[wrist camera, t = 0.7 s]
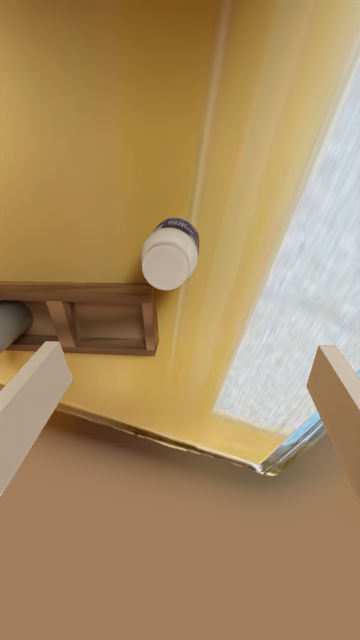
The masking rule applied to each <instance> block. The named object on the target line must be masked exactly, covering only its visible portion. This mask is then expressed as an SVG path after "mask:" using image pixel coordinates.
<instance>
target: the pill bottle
mask: <svg viewBox="0 0 360 640" xmlns="http://www.w3.org/2000/svg"><path fill="white" fill-rule="evenodd" d="M198 253H199V235H198V232H197V230H196V228H195V227H194V225H193V224H192V223H190V222H189V221H188V220H186V219H183V218H180V217H171V218H168V219H166V220H164V221H162V222H161V223H160V224H159V225H158V226H157V227H156V228H155V230H154V231H153V232H152V233H151V234H150V235H149V236H148V237H147V239H146V240H145V242H144V244H143V247H142V250H141V262H142V271H143V275H144V277H145V279H146V280H147V281H148V283H149V284H151V285H152V286H153V287H155V288H157V289H160V290H173V289H176V288H178V287H179V286H181V285H182V284H183V283H184V282H185V281H186V280H188V279H189V278H190V277H191V276H192V274H193V273H194V271H195V269H196V267H197V263H198Z"/></svg>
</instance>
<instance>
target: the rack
mask: <svg viewBox="0 0 360 640" xmlns="http://www.w3.org/2000/svg"><path fill="white" fill-rule="evenodd" d="M1 300H18V301H20V302H22V303H23V304H25V305H26V306H27V307H28V308H29V309H30V311H31V313H32V315H33V323H32V325H31V326H30V327H29V328H28V329H27V330H26V331H25V332H24V333H22V334H21V335H20V336H19V337H18V338H17V339H16V340H15V341H14V342H12V343H11V344H10V345H9V346H8V347H7V348H6V349H5V350H18V351H37V350H38V349H39V348H40V347H41V346H42V345H43V344H44V343H45V342H46V341H52V342H60V345H61V348H62V350H63V352H67V353H91V354H116V355H140V356H155V353H156V349H157V346H158V342H159V338H158V324H157V311H156V298H155V287H153V286H152V285H151V284H119V283H59V282H0V301H1Z"/></svg>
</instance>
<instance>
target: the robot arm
mask: <svg viewBox="0 0 360 640" xmlns="http://www.w3.org/2000/svg"><path fill="white" fill-rule="evenodd" d="M72 381H73V377H72V375H71V372H70V369H69V367H68V364H67V361H66V358H65V356H64V353H63V350H62V348H61V345H60V342H52V341H46V342H45V343H44V344H43V345H42V346H41V347H40V348H39V349H38V350H37V352H36V353H35V354H34V355H33V356H32V357H31V358H30V359H29V360H28V361H27V363H26V364H25V365H24V366H23V367H22V368H21V369H20V370H19V371H18V372H17V374H16V375H15V376H14V377H13V378H12V379H11V380H10V381H9V382H8V383H7V384H6V386H5V387H4V388H3V389H2V390H1V391H0V497H1V495H2V494H3V492H4V490H5V489H6V487H7V485H8V484H9V482H10V481H11V479H12V478H13V476H14V474H15V473H16V471H17V469H18V468H19V466H20V465H21V463H22V461H23V460H24V458H25V457H26V455H27V453H28V452H29V450H30V448H31V447H32V445H33V444H34V442H35V440H36V439H37V437H38V436H39V434H40V432H41V431H42V429H43V427H44V426H45V424H46V423H47V421H48V419H49V418H50V416H51V415H52V413H53V411H54V410H55V408H56V407H57V405H58V403H59V402H60V400H61V398H62V397H63V395H64V394H65V392H66V390H67V389H68V387H69V386H70V384H71V382H72ZM307 388H308V391H309V393H310V395H311V397H312V399H313V402H314V404H315V406H316V408H317V410H318V413H319V415H320V417H321V419H322V421H323V424H324V426H325V428H326V430H327V432H328V434H329V437H330V439H331V441H332V443H333V445H334V448H335V450H336V452H337V454H338V456H339V459H340V461H341V463H342V465H343V467H344V470H345V472H346V474H347V476H348V478H349V480H350V483H351V485H352V487H353V489H354V491H355V494H356V496H357V498H358V500H359V502H360V378H359V377H358V376H357V374H356V373H355V371H354V370H353V369H352V367H351V366H350V364H349V363H348V362H347V360H346V359H345V358H344V356H343V355H342V353H341V352H340V351H339V349H338V348H337V346H336V345H319V346H318V349H317V353H316V356H315V359H314V363H313V366H312V370H311V373H310V376H309V380H308V383H307Z"/></svg>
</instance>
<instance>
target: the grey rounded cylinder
mask: <svg viewBox="0 0 360 640" xmlns="http://www.w3.org/2000/svg"><path fill="white" fill-rule="evenodd" d="M32 323H33V315H32V313H31V311H30V309H29V308H28V307H27V306H26V305H25V304H23V303H22V302H20V301H18V300H1V301H0V353H1V352H2V351H4V350H5V349H6V348H7V347H8V346H9V345H10V344H11V343H12V342H14V341H15V340H16V339H17V338H18V337H19V336H20V335H21V334H22V333H24V332H25V331H26V330H27V329H28V328H29V327H30V326H31V325H32Z"/></svg>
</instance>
